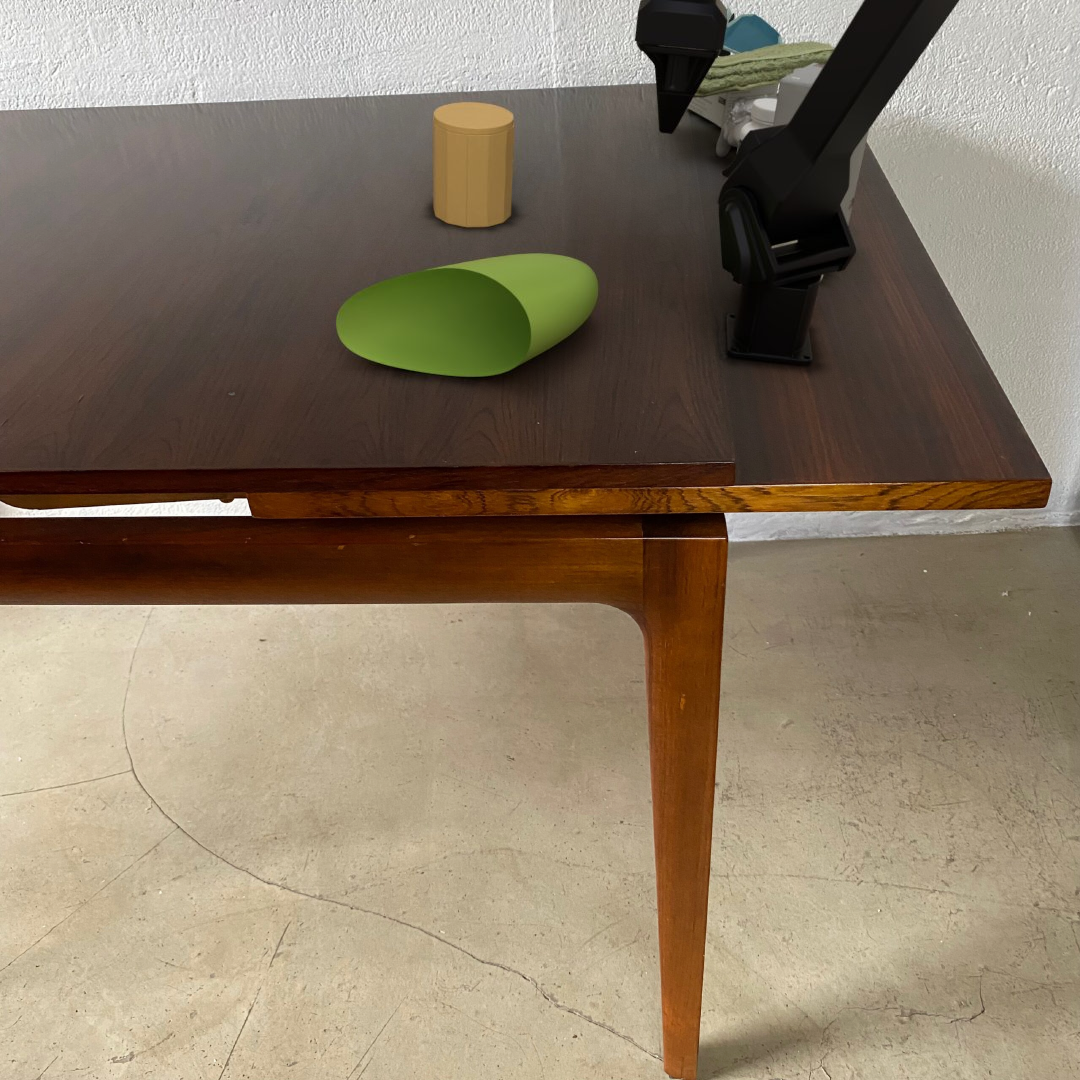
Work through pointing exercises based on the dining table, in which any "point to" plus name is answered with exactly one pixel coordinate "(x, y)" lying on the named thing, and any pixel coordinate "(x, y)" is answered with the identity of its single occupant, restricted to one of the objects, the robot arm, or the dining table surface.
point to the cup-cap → (472, 164)
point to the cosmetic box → (789, 101)
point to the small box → (727, 102)
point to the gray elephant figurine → (735, 124)
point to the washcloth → (761, 67)
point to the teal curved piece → (748, 34)
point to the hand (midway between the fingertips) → (667, 113)
